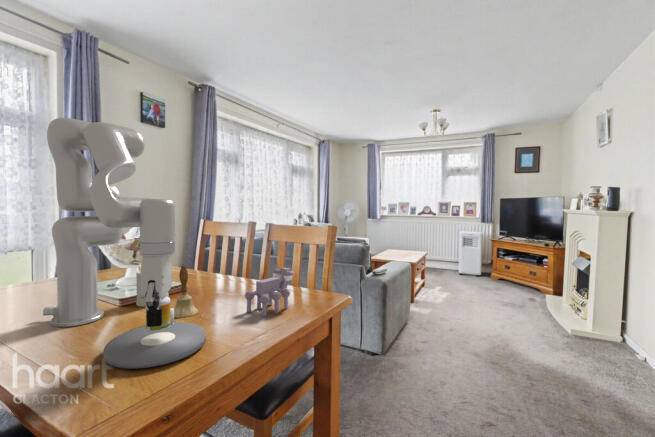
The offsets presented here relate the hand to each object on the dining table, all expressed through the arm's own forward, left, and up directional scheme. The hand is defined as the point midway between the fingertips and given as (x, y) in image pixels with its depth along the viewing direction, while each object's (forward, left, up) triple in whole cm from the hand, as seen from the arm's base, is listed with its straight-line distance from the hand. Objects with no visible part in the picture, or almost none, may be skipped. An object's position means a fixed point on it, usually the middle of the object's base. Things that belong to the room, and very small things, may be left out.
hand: (158, 320), depth 76 cm
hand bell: (+1, +25, -7) cm, 26 cm away
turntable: (0, 0, -7) cm, 7 cm away
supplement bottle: (0, 0, -2) cm, 2 cm away
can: (-13, +39, -7) cm, 42 cm away
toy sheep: (+31, +25, -7) cm, 41 cm away
